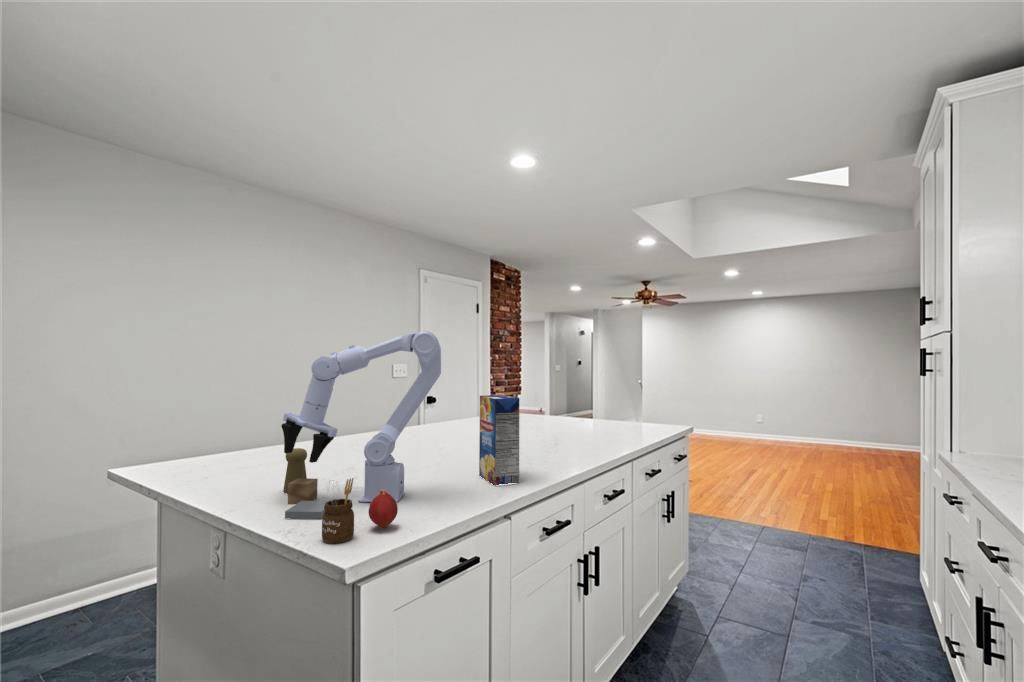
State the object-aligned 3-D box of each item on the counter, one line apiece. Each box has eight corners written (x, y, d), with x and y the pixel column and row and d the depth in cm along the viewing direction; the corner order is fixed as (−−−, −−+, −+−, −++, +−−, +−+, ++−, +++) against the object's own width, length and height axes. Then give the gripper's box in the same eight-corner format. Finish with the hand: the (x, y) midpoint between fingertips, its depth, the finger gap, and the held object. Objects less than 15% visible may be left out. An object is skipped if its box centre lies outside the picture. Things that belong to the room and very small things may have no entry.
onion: (371, 523, 102) (372, 485, 103) (399, 523, 103) (399, 485, 103) (365, 533, 97) (366, 493, 97) (395, 533, 97) (395, 492, 97)
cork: (298, 494, 124) (299, 451, 124) (277, 493, 125) (278, 450, 125) (312, 488, 130) (313, 447, 130) (292, 487, 131) (293, 446, 131)
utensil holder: (339, 531, 98) (340, 471, 98) (361, 537, 95) (362, 475, 95) (314, 540, 93) (315, 477, 93) (337, 547, 90) (338, 481, 90)
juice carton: (479, 476, 143) (479, 395, 144) (502, 474, 146) (502, 394, 147) (494, 486, 132) (495, 398, 133) (519, 483, 135) (519, 398, 136)
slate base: (335, 507, 113) (335, 500, 113) (321, 519, 105) (321, 511, 105) (301, 507, 113) (301, 500, 113) (284, 518, 105) (284, 511, 105)
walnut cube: (317, 498, 121) (317, 478, 121) (308, 504, 116) (308, 483, 116) (297, 498, 121) (297, 478, 121) (287, 504, 116) (288, 483, 116)
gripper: (281, 395, 118) (264, 449, 117) (330, 411, 114) (314, 468, 113) (300, 396, 125) (285, 447, 124) (347, 411, 121) (332, 464, 120)
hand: (300, 457), depth 119 cm, fingers open, 7 cm apart
